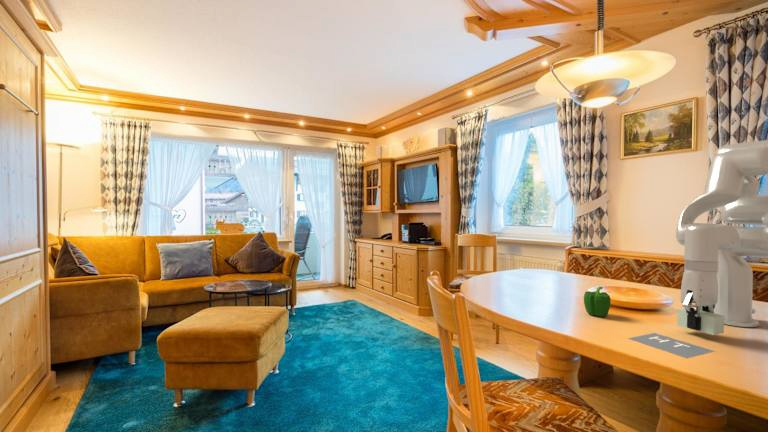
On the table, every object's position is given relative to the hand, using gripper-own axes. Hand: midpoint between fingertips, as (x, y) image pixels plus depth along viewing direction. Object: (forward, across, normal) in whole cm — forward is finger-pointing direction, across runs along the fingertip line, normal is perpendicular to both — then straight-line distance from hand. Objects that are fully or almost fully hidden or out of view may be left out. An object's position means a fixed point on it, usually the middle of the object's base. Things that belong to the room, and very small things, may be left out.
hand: (699, 327), depth 107 cm
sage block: (+1, 0, 0) cm, 1 cm away
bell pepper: (+3, +9, -26) cm, 28 cm away
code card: (+3, +16, +1) cm, 16 cm away
